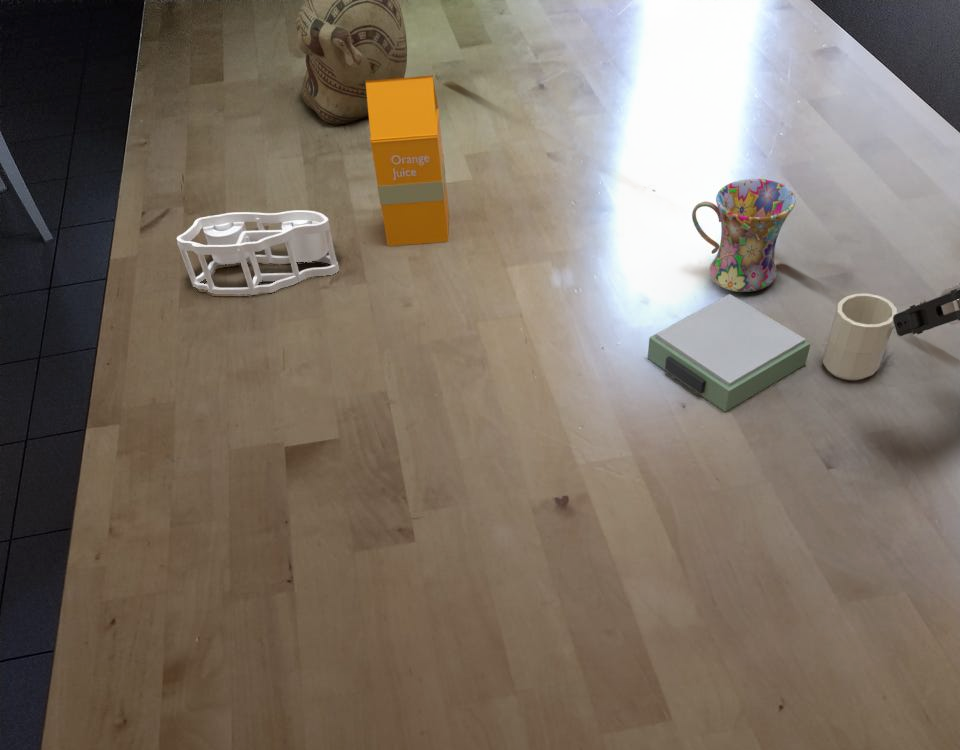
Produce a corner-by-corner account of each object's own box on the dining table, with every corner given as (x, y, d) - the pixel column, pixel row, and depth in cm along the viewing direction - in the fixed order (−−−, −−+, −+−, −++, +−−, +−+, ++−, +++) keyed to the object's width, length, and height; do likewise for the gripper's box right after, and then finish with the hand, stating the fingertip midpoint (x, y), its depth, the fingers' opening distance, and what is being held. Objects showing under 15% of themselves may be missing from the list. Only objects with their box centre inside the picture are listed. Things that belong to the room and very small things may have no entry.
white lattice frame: (345, 250, 127) (334, 199, 121) (331, 295, 121) (319, 244, 115) (210, 253, 129) (193, 203, 123) (189, 298, 123) (170, 248, 117)
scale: (725, 315, 112) (729, 290, 109) (805, 364, 105) (812, 339, 102) (644, 360, 108) (646, 335, 105) (721, 414, 101) (726, 389, 98)
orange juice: (448, 242, 126) (432, 89, 110) (387, 246, 127) (361, 94, 111) (449, 213, 131) (434, 62, 115) (389, 217, 131) (366, 67, 115)
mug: (784, 263, 117) (802, 183, 109) (770, 304, 113) (788, 222, 104) (693, 251, 121) (704, 171, 112) (676, 289, 116) (686, 210, 107)
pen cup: (846, 343, 107) (863, 286, 101) (889, 368, 104) (909, 311, 98) (809, 364, 105) (825, 308, 99) (852, 390, 102) (871, 334, 96)
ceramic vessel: (293, 138, 148) (242, -86, 124) (313, 81, 161) (270, -132, 137) (407, 132, 147) (377, -96, 123) (418, 75, 159) (393, -142, 135)
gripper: (1128, 191, 76) (976, 254, 91) (997, 241, 73) (863, 297, 88) (1148, 278, 77) (995, 325, 93) (1020, 331, 74) (885, 371, 90)
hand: (931, 311), depth 91 cm, fingers open, 8 cm apart
